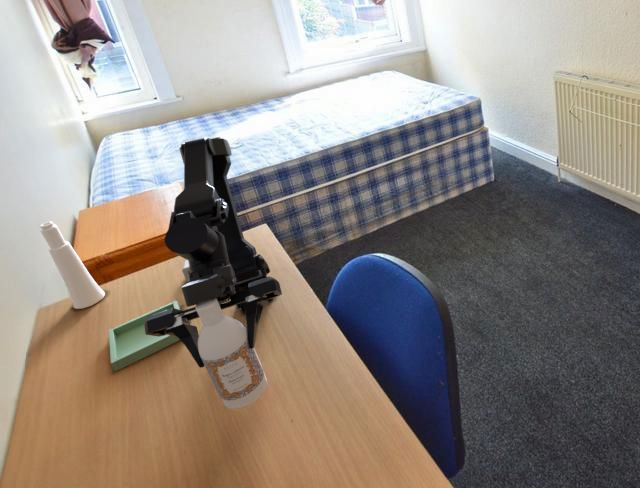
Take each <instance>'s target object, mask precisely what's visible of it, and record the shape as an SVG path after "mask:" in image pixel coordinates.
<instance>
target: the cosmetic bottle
mask: <svg viewBox="0 0 640 488" xmlns="http://www.w3.org/2000/svg"><path fill="white" fill-rule="evenodd" d="M39 227H40V233H41V234H42V237H43V239H45V240H44V241H46V243H47V245H48V246H49V247H48V252H49V254H50V256H51V259H52V260H53V262H54V264H55V266H56V268H57V270H58V272H59V274H60V277H61V278H62V281H63V282H64V285H65V287H66V290H67V292H68V294H69V296H70V299H71V302H72V306H73V308H74V309H75V310H81V309H86V308H89V307H92V306H94V305H95V304H97V303H99V302H100V301H102V300H103V299H104V297H105V295H106V293H105V291H104V290H103V289H102V288H101V287H100V286H99V285H98V282H96V281H95V279H94V278H93V277H92V275H91V274H90V272H89V271H88V269H87V267H86V266H85V265H84V263H83V261H82V260H81V258H80V257H79V255H78V253H77V252H76V251H75V249H74V248H73V246H72V245H71V242H70V241H66V239H65V237H64V236H63V234H62V233H61V230H60V229H59V226H58V225H57V224H55V223H54V222H53V221H47V222H44V223H41V224H40V225H39Z"/></svg>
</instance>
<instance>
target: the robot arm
mask: <svg viewBox="0 0 640 488" xmlns="http://www.w3.org/2000/svg"><path fill="white" fill-rule="evenodd" d="M179 152H180V156H181V160H182V162H183V165H184V166H183V185H184V186H183V190H182V191H181V192H180V193H179V194H178V195H177V196H176V197H175V198H174V205H173V210H172V211H171V213H170V219H169V223H168V224H169V225H168V228H167V231H166V233H165V236H164V239H163V240H164V244H165V246H166V248H167V249H168V250H169V251H170V252H172V253H174V254H176V255H177V256H179V257H181V258H183V259H185V260H188V262H189V268H190V273H189V279H190V281H188V282H187V283H186V284H184V285H182V286H181V291H182V295H183V298H184V302H185V305H186V309H184V310H182V309H181V310H178V309H175V308H171V309H168V310H165V311H162V312H159V313H156V314H153V315H150V316H148V318H147V319H146V321H145V324H144V326H145V333H146V335H152V336H164V335H172V336H177V337H178V338H179V339H180V340H179V341H181V342H182V344H183V345H184V346H185V348H186V349H187V350H188V353H189V354H190V355H191V356H192V358H193V360H194V361H195V363H196V365H197V366H198V367H199V368H200V369H202V368H204V367H205V365H204V363H203V361H202V359H201V357H200V354H199V351H198V338H199V334H200V333H199V330H198V327H197V326H195V325H192V324H191V323H192V321H193V320H195V319H198V318H199V319H200V317H199V315H198V313H197V311H196V308H195V306H196V304H197V303H198V302H201V301H204V300H207V299H214V298H216V299H217V301H218V303H219V305H220V307H221V310H222V311H223V310H225V309H229V308H231V307H234V306H236V307H237V309H239V310H241V312H242V314H245V320H246V321H245V323H246V330H247V334H248V342H249V346H250V349H253V348H254V349H255V345H256V340H257V333H258V329H259V323H260V320H261V316H262V314H263V310H264V307H266V306H268V305H270V302H271V301H273V300H274V298H277V297H280V296H281V295H283V291H282V288H281V284H280V281H278V279H276V278H275V277H273V276H270V275H269V276H268V274H270V273H271V269H270V266H269V264H268V262H267V260H266V259H265V258H264V257H263V256H262V254H260V253H258V252H257V249H256V247H255V246H254V245H253V244H252V243H250V242H249V241H248V240H246V238H245V237H244V232H243V230H242V226H241V222H240V218H239V215H238V212H237V208H236V204H235V201H234V198H233V195H232V190H231V187H230V184H229V179H228V174H229V172H230V168H231V166H232V160H231V157H230V156H232V153H233V152H232V148H231V146H230V144H229V141H228V140H227V139H225V138H223V137H222V138H221V137H220V136H217V137H212V138H210V137H208V138H207V137H201V138H197V139H192V140H187V141H185V142H184V143H181V144H180V147H179ZM214 227H216V230H214V229H213V228H214Z"/></svg>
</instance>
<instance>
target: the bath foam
mask: <svg viewBox="0 0 640 488" xmlns="http://www.w3.org/2000/svg"><path fill="white" fill-rule="evenodd" d="M194 307H195V308H196V311H197V313H198V315H199V319H200V321H201V323H202V326H201V329H200V331H199V333H198V334H199V338H198V351H199V354H200V357H201V359H202V361H203V363H204V367H205V370H206V372H207V373H208V376H209V378H210V380H211V381H212V384H213V386H214V388H215V391H216V392H217V394H218V396H219V397H220V400H221V402H222V404H223V405H224V406H225V407H226V408H227V409H230V410H240V409H244V408H246V407H248V406H250V405H253V403H255V402H256V401H257V400H258V399H260V398H261V396H262V395H263V394H264V393H265V391H266V389H267V386H268V379H267V376H266V373H265V370H264V368H263V365H262V363H261V361H260V358H259V356H258V353H257V351H256V349H255V347H254V348H253V349H250V346H249V342H248V334H247V328H246V327H245V325H244V324H243V323H242V322H240V320H238V319H236V318H235V317H232V316H229V315H227V314H224V313H223V309H222V310H221V307H220V305H219V303H218V301H217V299H216V298H214V299H207V300H204V301H201V302H198V303H197V304H196V305H194Z"/></svg>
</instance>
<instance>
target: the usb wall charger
mask: <svg viewBox="0 0 640 488" xmlns="http://www.w3.org/2000/svg"><path fill="white" fill-rule="evenodd" d="M181 273H182V274H183V276H184V279H185V280H186V281H187V282H190V279H189V273H190V268H189V262H188V260H186V259H185V261H184V263H183V267H182V269H181Z"/></svg>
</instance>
